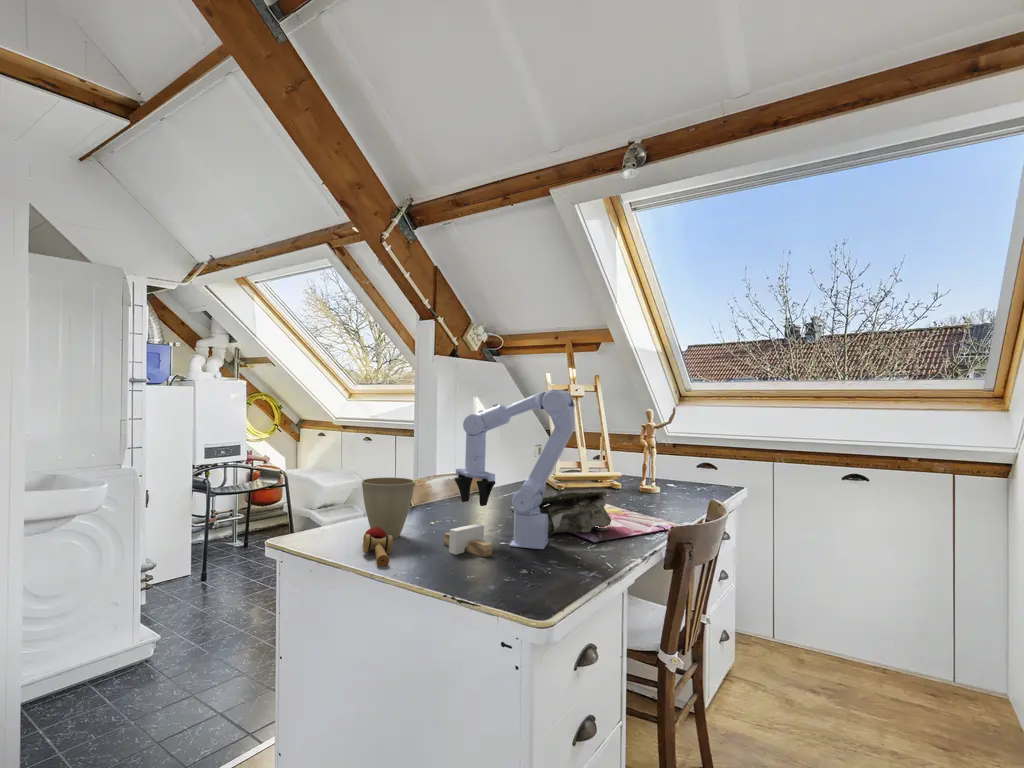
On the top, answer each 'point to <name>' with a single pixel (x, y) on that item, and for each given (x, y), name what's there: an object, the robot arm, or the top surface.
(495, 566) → the top surface
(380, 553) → the kendama
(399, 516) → the plant pot
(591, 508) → the hollow geode rock
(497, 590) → the top surface
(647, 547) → the top surface
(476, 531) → the white flat block
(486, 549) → the wooden bar
